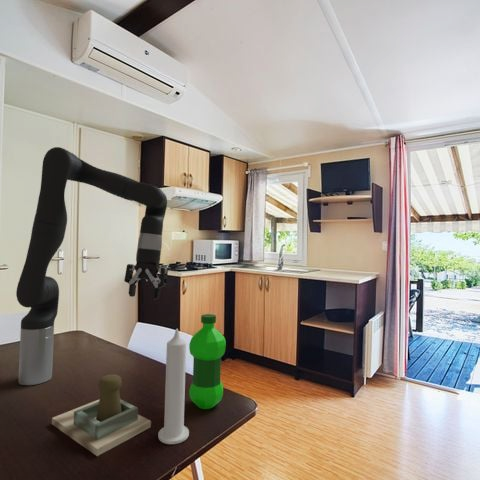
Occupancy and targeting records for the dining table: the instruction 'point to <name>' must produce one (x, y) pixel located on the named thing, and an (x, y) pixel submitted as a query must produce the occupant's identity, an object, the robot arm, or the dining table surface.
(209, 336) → the plastic bottle
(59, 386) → the dining table surface
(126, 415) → the board
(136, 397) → the dining table surface
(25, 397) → the dining table surface
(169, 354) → the candle
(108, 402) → the cork
